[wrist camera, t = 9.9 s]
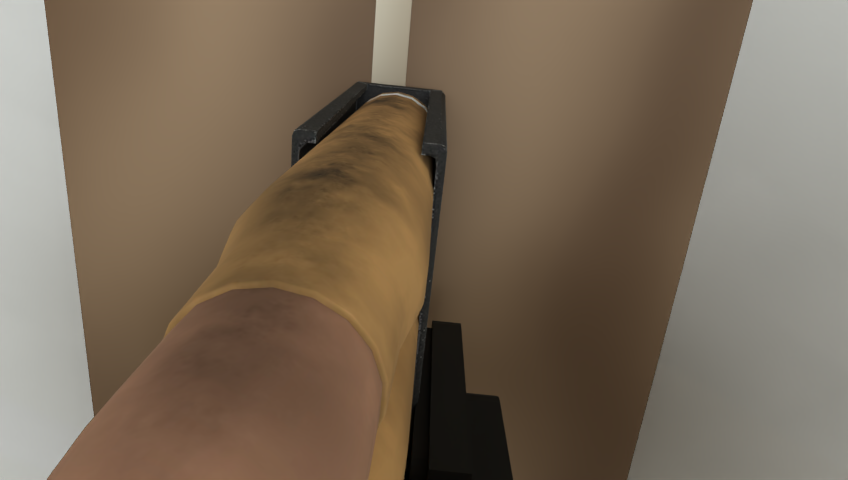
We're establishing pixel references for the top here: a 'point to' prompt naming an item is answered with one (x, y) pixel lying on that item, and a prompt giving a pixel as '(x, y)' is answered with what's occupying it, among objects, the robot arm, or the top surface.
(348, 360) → the ammunition clip
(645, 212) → the walnut board
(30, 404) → the top surface
